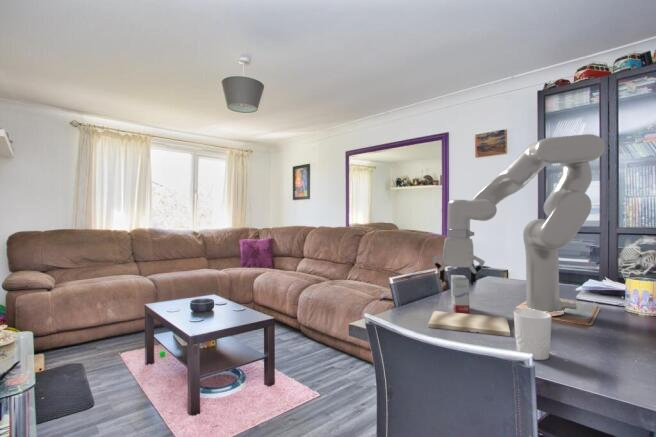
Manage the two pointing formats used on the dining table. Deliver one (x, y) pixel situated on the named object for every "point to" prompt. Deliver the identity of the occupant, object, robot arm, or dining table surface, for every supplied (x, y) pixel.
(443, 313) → the birch board
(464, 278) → the ink box
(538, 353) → the white cup
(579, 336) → the dining table surface
